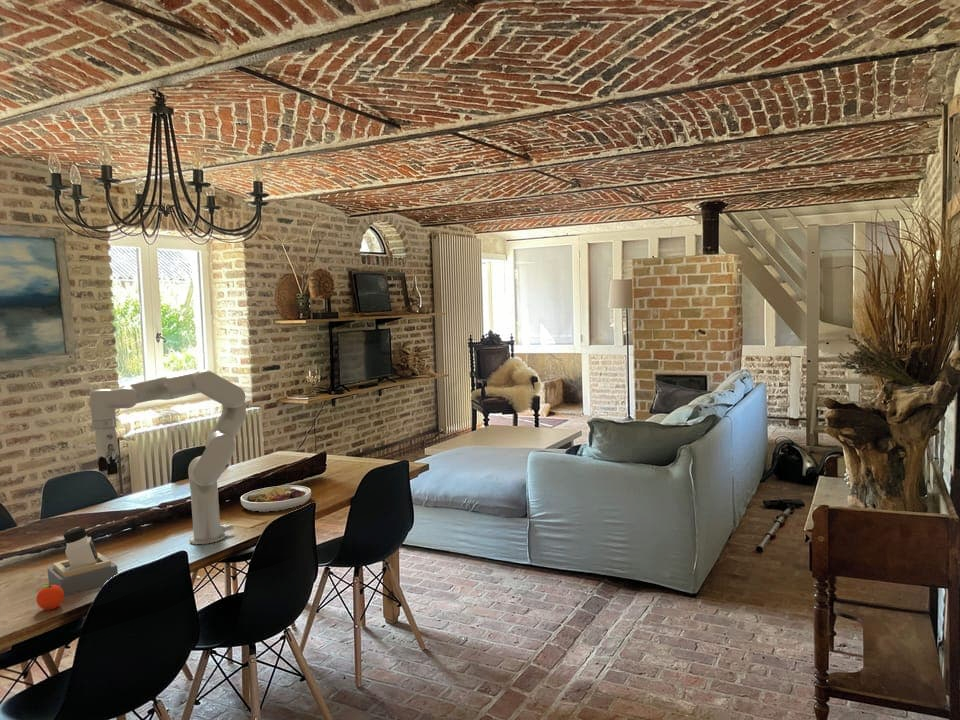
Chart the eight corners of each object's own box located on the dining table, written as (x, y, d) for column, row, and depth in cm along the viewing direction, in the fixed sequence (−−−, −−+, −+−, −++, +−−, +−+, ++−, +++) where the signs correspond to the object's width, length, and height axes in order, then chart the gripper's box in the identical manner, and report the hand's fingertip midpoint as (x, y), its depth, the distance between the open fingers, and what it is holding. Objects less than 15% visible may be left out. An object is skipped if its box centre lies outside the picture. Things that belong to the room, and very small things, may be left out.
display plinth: (103, 569, 237) (101, 550, 236) (118, 580, 225) (116, 560, 225) (48, 583, 226) (47, 563, 225) (61, 596, 214) (60, 575, 214)
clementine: (28, 613, 202) (26, 589, 202) (46, 603, 209) (44, 580, 209) (52, 614, 201) (50, 589, 200) (70, 604, 208) (68, 580, 207)
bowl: (226, 510, 306) (224, 493, 305) (275, 493, 332) (274, 477, 332) (278, 517, 292) (277, 498, 292) (325, 498, 319) (324, 481, 318)
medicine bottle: (96, 562, 224) (84, 528, 222) (72, 571, 221) (59, 536, 219) (98, 556, 230) (86, 522, 228) (74, 565, 227) (61, 530, 225)
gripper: (123, 424, 243) (127, 473, 244) (108, 420, 255) (111, 467, 256) (100, 427, 238) (104, 477, 239) (85, 423, 250) (89, 471, 251)
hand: (108, 472), depth 248 cm, fingers open, 9 cm apart
